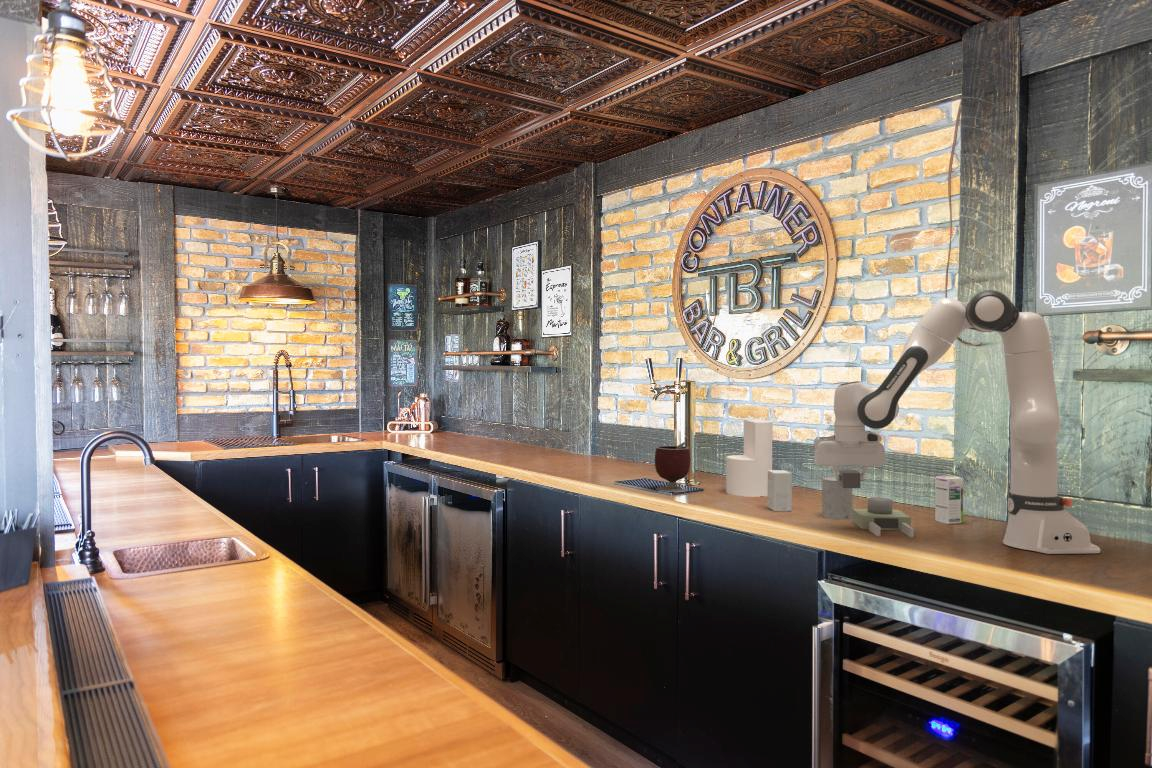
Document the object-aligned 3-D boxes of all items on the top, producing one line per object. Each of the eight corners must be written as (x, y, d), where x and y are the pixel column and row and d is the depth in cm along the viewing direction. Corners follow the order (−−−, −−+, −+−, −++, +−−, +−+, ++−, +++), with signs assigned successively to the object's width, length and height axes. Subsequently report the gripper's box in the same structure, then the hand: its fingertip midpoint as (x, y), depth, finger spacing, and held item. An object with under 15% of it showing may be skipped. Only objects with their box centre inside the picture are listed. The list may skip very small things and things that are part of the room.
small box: (792, 511, 256) (792, 473, 255) (773, 511, 255) (774, 473, 255) (784, 507, 264) (785, 469, 263) (766, 507, 264) (767, 469, 263)
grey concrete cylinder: (854, 519, 242) (855, 481, 242) (823, 518, 244) (823, 480, 244) (850, 514, 251) (850, 477, 251) (820, 512, 253) (820, 476, 253)
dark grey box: (856, 484, 231) (856, 470, 231) (860, 488, 224) (860, 473, 224) (839, 484, 232) (839, 470, 232) (842, 488, 225) (842, 472, 225)
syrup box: (948, 524, 235) (948, 478, 235) (934, 520, 241) (934, 475, 240) (963, 523, 236) (963, 477, 236) (949, 520, 242) (949, 474, 242)
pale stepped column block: (764, 489, 302) (765, 419, 302) (777, 496, 285) (778, 422, 284) (721, 489, 302) (722, 419, 301) (731, 496, 284) (732, 422, 284)
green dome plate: (898, 522, 237) (898, 497, 237) (920, 537, 217) (920, 509, 216) (852, 521, 239) (852, 496, 239) (869, 535, 218) (869, 508, 218)
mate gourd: (647, 489, 302) (648, 439, 301) (676, 486, 308) (677, 437, 307) (669, 495, 288) (670, 442, 287) (699, 492, 294) (700, 441, 294)
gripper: (815, 436, 226) (816, 482, 226) (887, 436, 224) (887, 482, 224) (812, 434, 233) (812, 479, 233) (881, 434, 230) (881, 479, 230)
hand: (849, 481), depth 228 cm, fingers closed on dark grey box, 5 cm apart
